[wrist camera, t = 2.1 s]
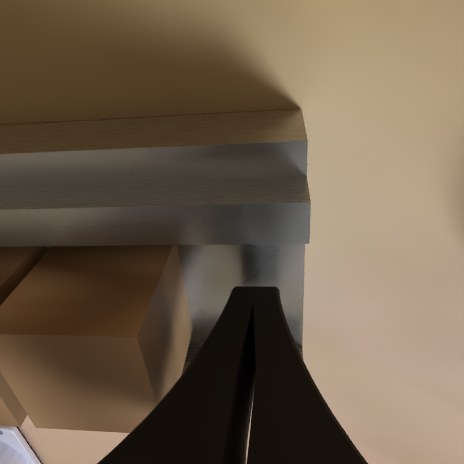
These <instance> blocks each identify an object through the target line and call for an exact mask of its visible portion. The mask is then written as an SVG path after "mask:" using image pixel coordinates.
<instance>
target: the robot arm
mask: <svg viewBox="0 0 464 464" xmlns="http://www.w3.org/2000/svg"><path fill="white" fill-rule="evenodd" d="M253 394H254V396H253ZM252 402H253V407H252ZM251 409H252V417H251V428H250V438H249V448H248V457H247V464H368V463H367V462H366V460H365V459H364V458H363V456H362V455H361V454H360V452H359V451H358V450H357V448H356V447H355V445H354V444H353V443H352V441H351V440H350V438H349V437H348V435H347V434H346V432H345V431H344V429H343V428H342V427H341V425H340V424H339V422H338V421H337V419H336V418H335V416H334V415H333V413H332V412H331V410H330V408H329V407H328V405H327V403H326V402H325V400H324V398H323V397H322V395H321V393H320V392H319V390H318V388H317V386H316V385H315V383H314V381H313V379H312V377H311V375H310V373H309V371H308V370H307V368H306V366H305V363H304V361H303V359H302V357H301V355H300V353H299V351H298V349H297V346H296V344H295V342H294V339H293V337H292V334H291V332H290V329H289V326H288V324H287V321H286V318H285V315H284V311H283V308H282V304H281V299H280V291H279V289H278V288H277V287H276V286H235V287H234V288H233V289H232V291H231V294H230V296H229V299H228V301H227V303H226V305H225V307H224V309H223V311H222V313H221V315H220V317H219V319H218V321H217V322H216V324H215V326H214V328H213V329H212V331H211V333H210V334H209V336H208V338H207V339H206V341H205V343H204V344H203V346H202V347H201V349H200V350H199V352H198V353H197V355H196V356H195V358H194V359H193V361H192V362H191V363H190V365H189V366H188V368H187V369H186V370H185V372H184V373H183V374H182V376H181V377H180V378H179V379H178V381H177V382H176V383H175V385H174V386H173V387H172V388H171V389H170V391H169V392H168V393H167V394H166V395H165V396H164V398H163V399H162V400H161V401H160V402H159V403H158V405H157V406H156V407H155V408H154V409H153V410H152V411H151V412H150V413H149V415H148V416H147V417H146V418H145V419H144V420H143V421H142V422H141V423H140V424H139V425H138V426H137V427H136V428H135V429H134V430H133V431H132V432H131V433H130V434H129V435H128V436H127V437H126V438H125V439H124V440H123V441H122V442H121V443H120V444H119V445H118V446H117V447H115V448H114V449H113V450H112V451H111V452H110V453H109V454H108V455H107V456H105V457H104V458H103V459H102V460H101V461H100V462H99V463H97V464H246V449H247V439H248V431H249V423H250V416H251ZM0 464H41V463H40V461H39V460H38V458H37V457H36V455H35V454H34V452H33V451H32V449H31V448H30V446H29V445H28V444H27V442H26V441H25V439H24V438H23V436H22V435H21V433H20V432H19V430H18V429H17V427H13V426H0Z"/></svg>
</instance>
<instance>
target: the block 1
mask: <svg viewBox="0 0 464 464" xmlns="http://www.w3.org/2000/svg"><path fill="white" fill-rule="evenodd" d="M46 252H47V250H46V247H45V246H29V247H0V306H1V305H2V303H3V302H4V301H5V300H6V299H7V298H8V296H9V295H10V294H11V293H12V292H13V291H14V289H15V288H16V287H17V286H18V285H19V284H20V282H21V281H22V280H23V279H24V278H25V277H26V276H27V274H28V273H29V272H30V271H31V270H32V269H33V267H34V266H35V265H36V264H37V263H38V262H39V260H40V259H41V258H42V257H43V256H44V255H45V253H46ZM27 415H28V414H27V413H26V411H25V410H24V408H23V407H22V405H21V403H20V402H19V400H18V399H17V397H16V395H15V394H14V392H13V391H12V389H11V387H10V386H9V384H8V383H7V381H6V380H5V378H4V376H3V375H2V373H1V372H0V426H13V427H21V425H22V423H23V421H24V420H25V418H26V416H27Z"/></svg>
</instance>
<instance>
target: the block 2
mask: <svg viewBox="0 0 464 464" xmlns="http://www.w3.org/2000/svg"><path fill="white" fill-rule="evenodd" d="M192 330H193V326H192V321H191V316H190V311H189V306H188V300H187V295H186V290H185V285H184V280H183V274H182V269H181V264H180V259H179V254H178V249H177V245H128V246H51V248H50V249H49V250H48V251H47V252H46V253H45V255H44V256H43V257H42V258H41V259H40V260H39V262H38V263H37V264H36V265H35V266H34V267H33V269H32V270H31V271H30V272H29V273H28V274H27V276H26V277H25V278H24V279H23V280H22V281H21V282H20V284H19V285H18V286H17V287H16V288H15V289H14V291H13V292H12V293H11V294H10V295H9V296H8V298H7V299H6V300H5V301H4V302H3V303H2V305H1V306H0V372H1V373H2V375H3V376H4V378H5V380H6V381H7V383H8V384H9V386H10V387H11V389H12V391H13V392H14V394H15V395H16V397H17V399H18V400H19V402H20V403H21V405H22V407H23V408H24V410H25V411H26V413H27V414H28V416H29V418H30V419H31V421H32V422H33V424H34V426H35V427H36V428H49V429H68V430H86V431H104V432H122V433H131V432H132V431H133V430H134V429H135V428H136V427H137V426H138V425H139V424H140V423H141V422H142V421H143V420H144V419H145V418H146V417H147V416H148V415H149V413H150V412H151V411H152V410H153V409H154V408H155V407H156V406H157V405H158V403H159V402H160V401H161V400H162V399H163V398H164V396H165V395H166V394H167V393H168V392H169V391H170V389H171V388H172V387H173V386H174V385H175V383H176V382H177V381H178V379H179V378H180V377H181V375H182V371H183V367H184V363H185V359H186V355H187V351H188V347H189V342H190V338H191V334H192Z"/></svg>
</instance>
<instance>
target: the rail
mask: <svg viewBox="0 0 464 464" xmlns="http://www.w3.org/2000/svg"><path fill="white" fill-rule="evenodd" d="M307 142H308V141H307V135H306V130H305V125H304V120H303V114H302V109H290V110H272V111H253V112H235V113H216V114H198V115H180V116H161V117H143V118H124V119H106V120H87V121H69V122H51V123H32V124H14V125H0V247H29V246H45V247H46V250H47V251H48V250H49V249H50V248H51V246H128V245H177V249H178V254H179V259H180V264H181V269H182V274H183V280H184V285H185V290H186V295H187V300H188V306H189V311H190V316H191V321H192V326H193V330H192V334H191V338H190V342H189V347H188V351H187V355H186V359H185V363H184V367H183V371H182V374H183V373H184V372H185V370H186V369H187V368H188V366H189V365H190V363H191V362H192V361H193V359H194V358H195V356H196V355H197V353H198V352H199V350H200V349H201V347H202V346H203V344H204V343H205V341H206V339H207V338H208V336H209V334H210V333H211V331H212V329H213V328H214V326H215V324H216V322H217V321H218V319H219V317H220V315H221V313H222V311H223V309H224V307H225V305H226V303H227V301H228V299H229V296H230V294H231V291H232V289H233V288H234V287H235V286H276V287H277V288H278V289H279V291H280V299H281V304H282V308H283V311H284V315H285V318H286V321H287V324H288V326H289V329H290V332H291V334H292V337H293V339H294V342H295V344H296V346H297V349H298V351H299V353H300V355H301V357H302V359H303V350H302V334H303V296H304V257H305V244H309V235H310V205H311V202H310V195H309V189H308V182H307ZM181 376H182V375H181ZM253 396H254V394H253Z"/></svg>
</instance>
